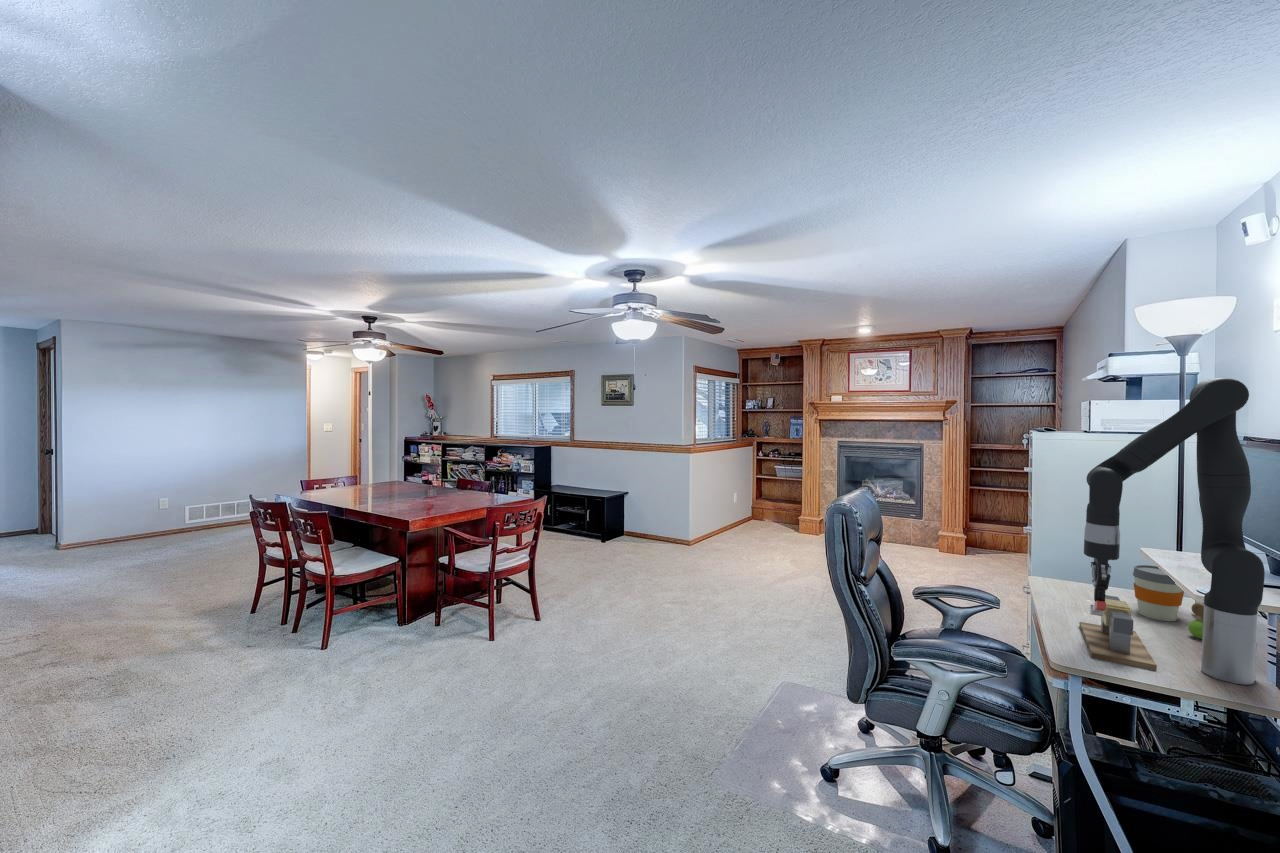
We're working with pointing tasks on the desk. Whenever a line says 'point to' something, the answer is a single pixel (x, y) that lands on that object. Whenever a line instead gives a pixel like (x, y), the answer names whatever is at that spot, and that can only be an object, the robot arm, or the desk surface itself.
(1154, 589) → the reusable coffee cup
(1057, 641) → the desk surface
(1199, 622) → the snail figurine
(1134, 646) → the base board
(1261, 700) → the desk surface
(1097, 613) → the valve lever
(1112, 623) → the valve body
